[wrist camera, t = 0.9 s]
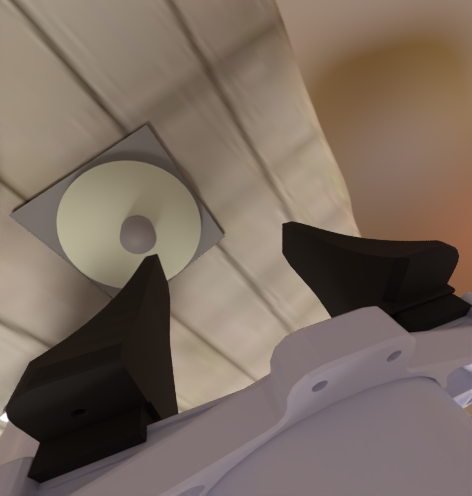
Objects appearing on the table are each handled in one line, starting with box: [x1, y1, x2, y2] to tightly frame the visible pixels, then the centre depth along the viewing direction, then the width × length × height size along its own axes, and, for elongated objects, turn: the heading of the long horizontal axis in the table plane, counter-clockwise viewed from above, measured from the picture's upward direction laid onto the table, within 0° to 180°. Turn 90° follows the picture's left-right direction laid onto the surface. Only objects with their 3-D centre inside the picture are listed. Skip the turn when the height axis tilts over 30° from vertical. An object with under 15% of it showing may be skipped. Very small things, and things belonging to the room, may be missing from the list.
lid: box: [56, 160, 201, 288], centre depth 21 cm, size 13×13×4 cm
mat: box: [9, 125, 225, 299], centre depth 23 cm, size 14×14×1 cm
